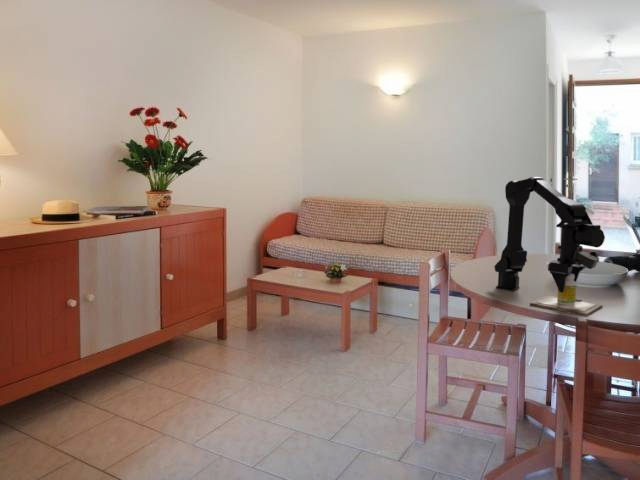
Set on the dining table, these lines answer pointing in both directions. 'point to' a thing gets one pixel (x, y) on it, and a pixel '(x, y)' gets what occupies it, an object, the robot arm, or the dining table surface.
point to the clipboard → (577, 308)
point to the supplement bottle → (568, 292)
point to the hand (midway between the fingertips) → (566, 289)
